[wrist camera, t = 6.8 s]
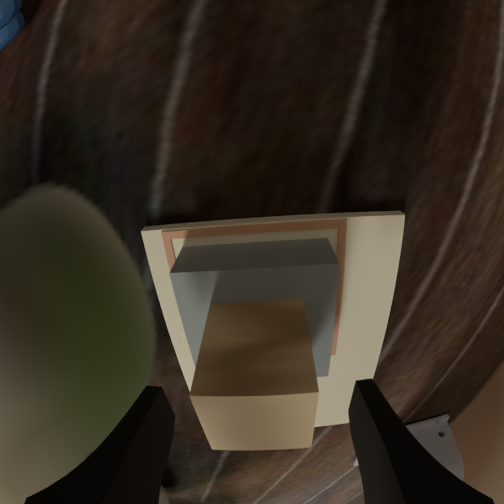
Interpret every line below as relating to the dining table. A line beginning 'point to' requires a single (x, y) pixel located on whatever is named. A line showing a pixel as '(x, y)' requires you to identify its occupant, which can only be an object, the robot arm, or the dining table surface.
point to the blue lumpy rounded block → (10, 20)
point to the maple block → (256, 376)
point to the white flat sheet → (348, 292)
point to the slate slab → (259, 285)
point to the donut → (163, 496)
